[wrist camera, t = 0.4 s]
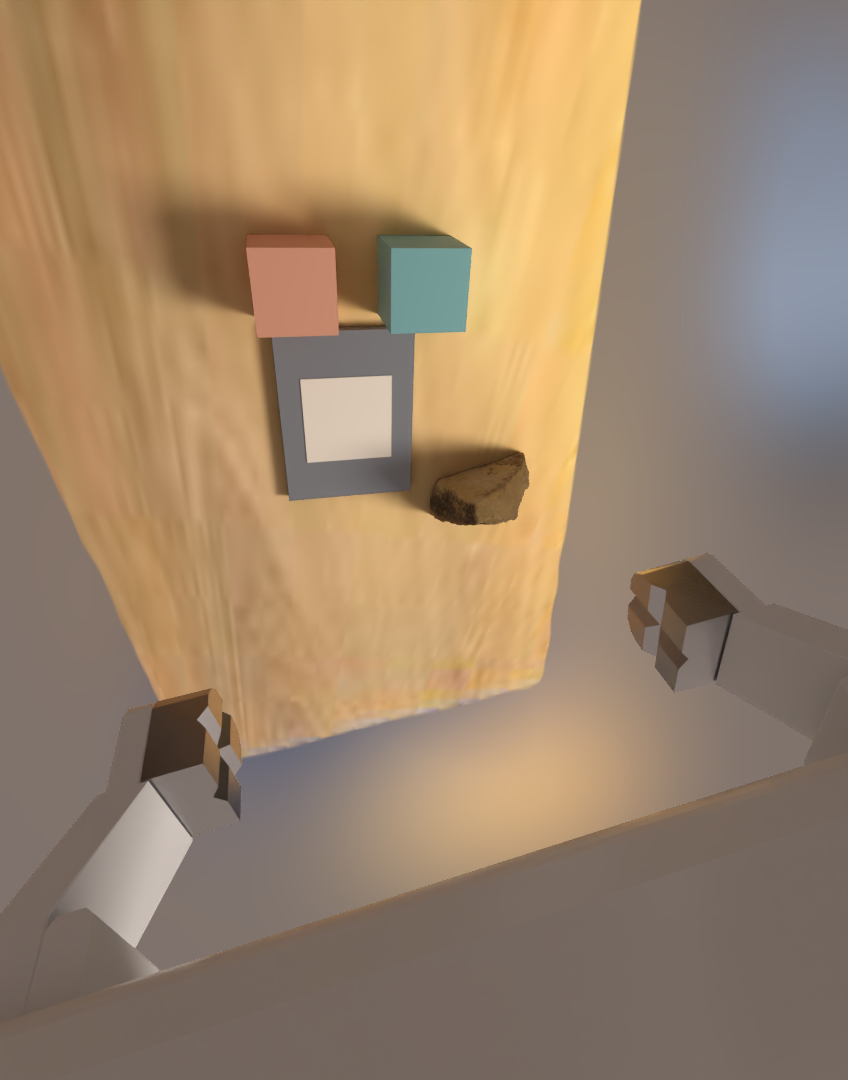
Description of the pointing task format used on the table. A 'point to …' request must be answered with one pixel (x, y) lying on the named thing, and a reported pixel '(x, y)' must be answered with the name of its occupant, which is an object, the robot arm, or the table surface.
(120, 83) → the table surface
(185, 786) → the robot arm
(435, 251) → the teal block
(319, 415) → the grey flat plate
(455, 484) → the rock
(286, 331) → the terracotta block
